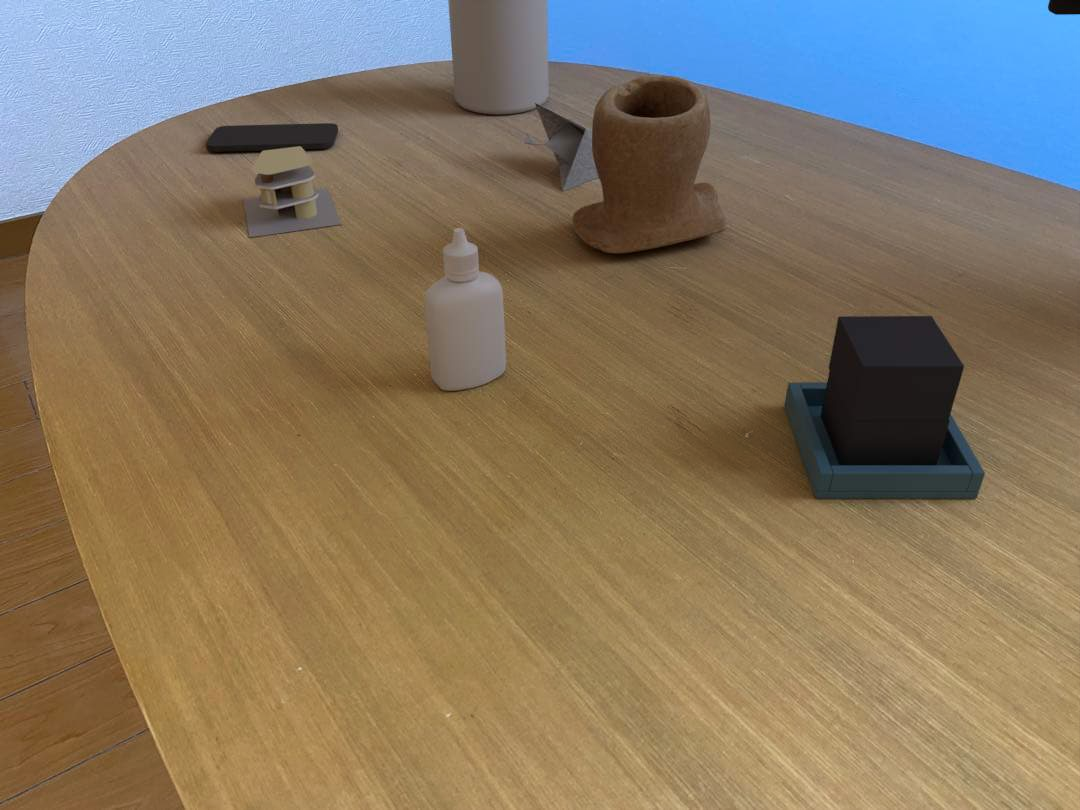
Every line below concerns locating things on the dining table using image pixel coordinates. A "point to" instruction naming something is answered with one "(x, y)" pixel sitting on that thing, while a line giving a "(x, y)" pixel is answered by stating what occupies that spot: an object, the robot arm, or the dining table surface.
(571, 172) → the paper boat
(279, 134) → the phone
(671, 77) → the stone cup
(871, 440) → the dark brown square block
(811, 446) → the dock
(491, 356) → the eye dropper bottle
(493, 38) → the cylinder vase
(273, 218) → the stacked layers on plate
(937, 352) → the black block
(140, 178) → the dining table surface
